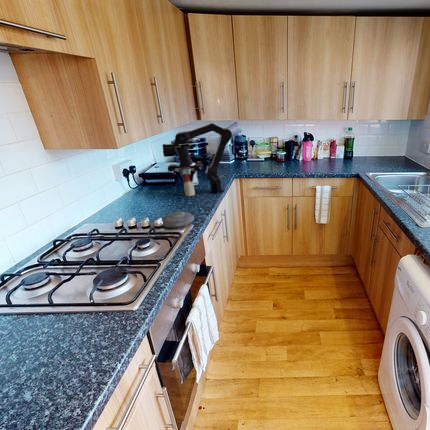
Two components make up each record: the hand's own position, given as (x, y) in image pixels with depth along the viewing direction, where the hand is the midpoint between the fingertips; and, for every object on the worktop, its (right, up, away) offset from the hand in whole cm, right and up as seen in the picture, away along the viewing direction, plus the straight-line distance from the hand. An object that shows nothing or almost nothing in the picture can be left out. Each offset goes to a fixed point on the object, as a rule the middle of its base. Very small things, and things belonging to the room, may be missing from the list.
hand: (187, 181), depth 169 cm
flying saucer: (+8, -24, -34) cm, 42 cm away
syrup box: (-4, 0, +21) cm, 22 cm away
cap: (0, +1, 0) cm, 1 cm away
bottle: (0, -7, +3) cm, 8 cm away
